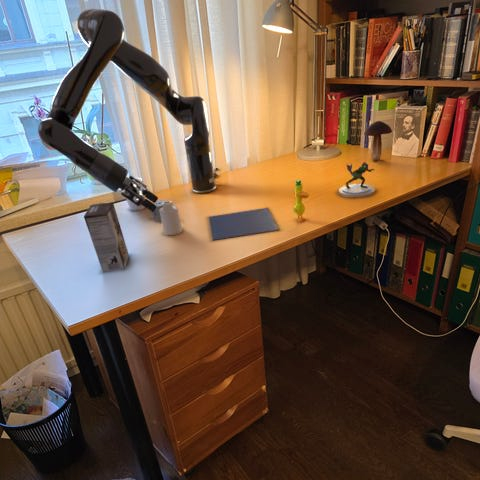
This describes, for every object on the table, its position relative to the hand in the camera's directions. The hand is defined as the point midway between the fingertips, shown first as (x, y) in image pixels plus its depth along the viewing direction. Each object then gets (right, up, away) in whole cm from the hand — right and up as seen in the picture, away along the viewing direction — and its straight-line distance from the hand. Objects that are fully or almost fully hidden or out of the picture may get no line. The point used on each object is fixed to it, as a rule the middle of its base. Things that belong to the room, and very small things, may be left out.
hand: (155, 204), depth 126 cm
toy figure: (+45, -5, +1) cm, 45 cm away
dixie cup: (-13, +7, +30) cm, 33 cm away
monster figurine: (+66, +9, +17) cm, 69 cm away
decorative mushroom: (+83, +32, +47) cm, 100 cm away
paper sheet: (+26, -5, +4) cm, 27 cm away
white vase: (+4, -7, +5) cm, 10 cm away
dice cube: (-1, 0, +18) cm, 18 cm away
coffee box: (-9, -20, -10) cm, 24 cm away
